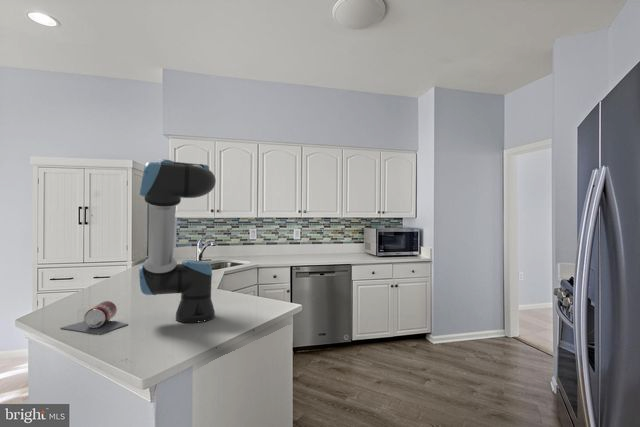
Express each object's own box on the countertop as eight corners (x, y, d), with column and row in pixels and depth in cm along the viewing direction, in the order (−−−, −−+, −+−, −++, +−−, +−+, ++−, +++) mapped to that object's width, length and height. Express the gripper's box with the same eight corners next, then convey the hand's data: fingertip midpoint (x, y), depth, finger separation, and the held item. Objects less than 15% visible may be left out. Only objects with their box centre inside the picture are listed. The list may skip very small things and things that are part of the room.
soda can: (107, 323, 133) (95, 333, 121) (92, 311, 131) (78, 320, 120) (121, 308, 134) (111, 317, 122) (106, 296, 133) (94, 304, 121)
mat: (128, 325, 127) (128, 323, 128) (99, 334, 116) (99, 333, 116) (91, 320, 133) (91, 319, 133) (60, 328, 121) (60, 327, 121)
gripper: (167, 194, 168) (166, 241, 167) (147, 191, 155) (145, 243, 154) (180, 194, 165) (178, 242, 165) (161, 191, 153) (159, 243, 152)
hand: (162, 242), depth 159 cm, fingers closed
